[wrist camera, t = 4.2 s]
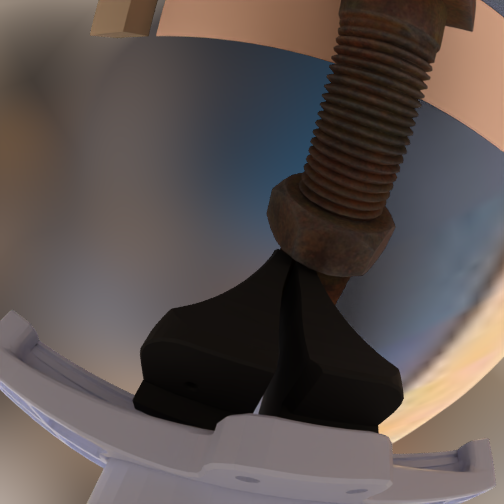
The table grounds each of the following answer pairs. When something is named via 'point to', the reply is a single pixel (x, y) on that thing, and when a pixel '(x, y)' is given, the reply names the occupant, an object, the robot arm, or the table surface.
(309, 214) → the bolt
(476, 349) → the table surface
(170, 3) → the strip
